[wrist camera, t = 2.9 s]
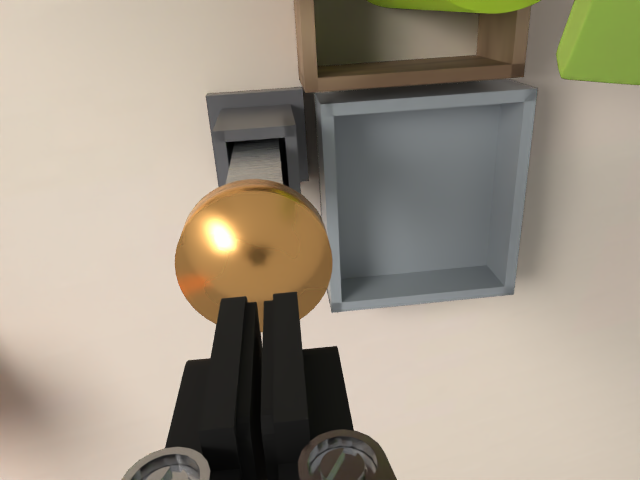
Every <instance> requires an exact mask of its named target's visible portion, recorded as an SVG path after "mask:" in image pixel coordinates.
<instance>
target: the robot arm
mask: <svg viewBox="0 0 640 480" xmlns="http://www.w3.org/2000/svg"><path fill="white" fill-rule="evenodd" d="M122 480H397V479H396V477H395V474H394V472H393V470H392V468H391V466H390V464H389V461H388V459H387V457H386V455H385V453H384V451H383V450H382V448H381V447H380V445H379V444H378V443H377V442H376V441H375V440H373V439H372V438H371V437H369V436H368V435H365V434H363V433H360V432H358V431H354V429H353V424H352V419H351V414H350V409H349V404H348V398H347V393H346V388H345V383H344V378H343V373H342V368H341V362H340V357H339V352H338V348H337V346H333V347H323V348H313V349H302V341H301V330H300V319H299V307H298V296H297V292H286V293H275V294H273V300H269V301H264V311H263V348H262V341H261V333H260V324H259V316H258V308H257V302H248V301H247V297H246V296H242V297H231V298H222V299H221V302H220V307H219V313H218V319H217V324H216V330H215V336H214V342H213V347H212V353H211V358H209V359H199V360H188V361H187V362H186V365H185V368H184V372H183V376H182V381H181V385H180V389H179V393H178V397H177V401H176V405H175V409H174V414H173V418H172V422H171V426H170V430H169V434H168V438H167V442H166V447H165V448H164V449H161V450H158V451H156V452H153V453H150V454H149V455H147V456H145V457H144V458H142V459H140V460H139V461H137V462H136V463H135V464H134V465H133V466H132V467H131V468H130V469H129V470H128V471H127V472H126V474H125V475H124V477H123V478H122Z"/></svg>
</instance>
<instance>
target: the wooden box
mask: <svg viewBox="0 0 640 480" xmlns="http://www.w3.org/2000/svg"><path fill="white" fill-rule="evenodd" d="M294 10H295V24H296V39H297V53H298V68H299V80H300V82H301V84H302V86H303V89H304V91H305V93H309V92H323V91H337V90H351V89H365V88H379V87H392V86H406V85H420V84H434V83H448V82H462V81H476V80H490V79H503V78H517V77H524V68H525V59H526V49H527V39H528V30H529V20H530V11H531V6H528V7H526V8H523V9H520V10H516V11H512V12H506V13H497V14H487V13H479V26H478V41H477V55H472V56H458V57H443V58H429V59H414V60H400V61H385V62H371V63H356V64H342V65H327V66H317V56H316V38H315V19H314V1H313V0H294Z"/></svg>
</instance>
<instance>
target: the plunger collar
mask: <svg viewBox="0 0 640 480" xmlns="http://www.w3.org/2000/svg"><path fill="white" fill-rule="evenodd" d="M206 101H207V108H208V115H209V122H210V129H211V136H212V143H213V150H214V157H215V164H216V171H217V178H218V185H219V187H220V186H223V185H225V184H226V180H227V176H228V171H229V166H230V161H231V157H232V152H233V147H234V142H235V141H245V140H258V139H271V138H278V141H279V151H280V161H281V170H282V180H283V185H286V186H288V187H290V188H292V189H294V190H296V191H297V192H299V193H300V194H301V190H300V182H302V181H309V176H308V161H307V146H306V131H305V116H304V101H303V89H302V87H294V88H280V89H266V90H252V91H237V92H223V93H209V94H207V95H206Z"/></svg>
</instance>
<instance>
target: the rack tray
mask: <svg viewBox="0 0 640 480" xmlns="http://www.w3.org/2000/svg"><path fill="white" fill-rule="evenodd" d="M537 89H538V88H535V87H532V86H528V85H525V84H522V83H519V82H516V81H513V80H510V79H498V80H484V81H470V82H456V83H443V84H429V85H415V86H401V87H387V88H373V89H359V90H346V91H332V92H318V93H314V98H315V115H316V132H317V149H318V167H319V184H320V201H321V218H322V221H323V223H324V225H325V229H326V232H327V236H328V240H329V243H330V247H331V251H332V259H333V265H332V274H331V279H330V282H329V285H328V288H327V293H328V298H329V303H330V307H331V312H332V313H333V312H343V311H353V310H363V309H373V308H383V307H393V306H403V305H413V304H423V303H433V302H443V301H453V300H463V299H473V298H484V297H494V296H504V295H514V288H515V279H516V271H517V262H518V253H519V245H520V236H521V227H522V219H523V210H524V201H525V193H526V184H527V175H528V167H529V158H530V149H531V141H532V132H533V123H534V115H535V106H536V98H537Z"/></svg>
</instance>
